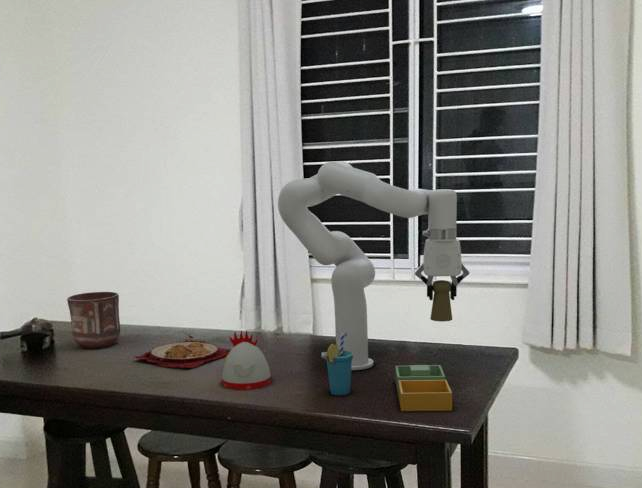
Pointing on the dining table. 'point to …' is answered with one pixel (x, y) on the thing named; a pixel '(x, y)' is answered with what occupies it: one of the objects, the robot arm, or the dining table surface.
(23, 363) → the dining table surface
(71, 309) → the pottery
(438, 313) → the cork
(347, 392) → the cup
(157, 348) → the plate with food
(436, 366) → the green bin
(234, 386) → the kitchen timer
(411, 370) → the green block
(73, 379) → the dining table surface
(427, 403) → the ochre bin
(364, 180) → the robot arm
